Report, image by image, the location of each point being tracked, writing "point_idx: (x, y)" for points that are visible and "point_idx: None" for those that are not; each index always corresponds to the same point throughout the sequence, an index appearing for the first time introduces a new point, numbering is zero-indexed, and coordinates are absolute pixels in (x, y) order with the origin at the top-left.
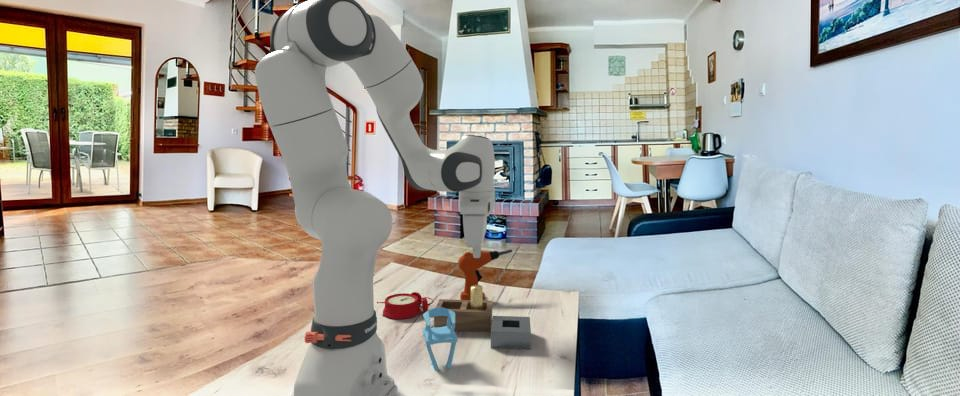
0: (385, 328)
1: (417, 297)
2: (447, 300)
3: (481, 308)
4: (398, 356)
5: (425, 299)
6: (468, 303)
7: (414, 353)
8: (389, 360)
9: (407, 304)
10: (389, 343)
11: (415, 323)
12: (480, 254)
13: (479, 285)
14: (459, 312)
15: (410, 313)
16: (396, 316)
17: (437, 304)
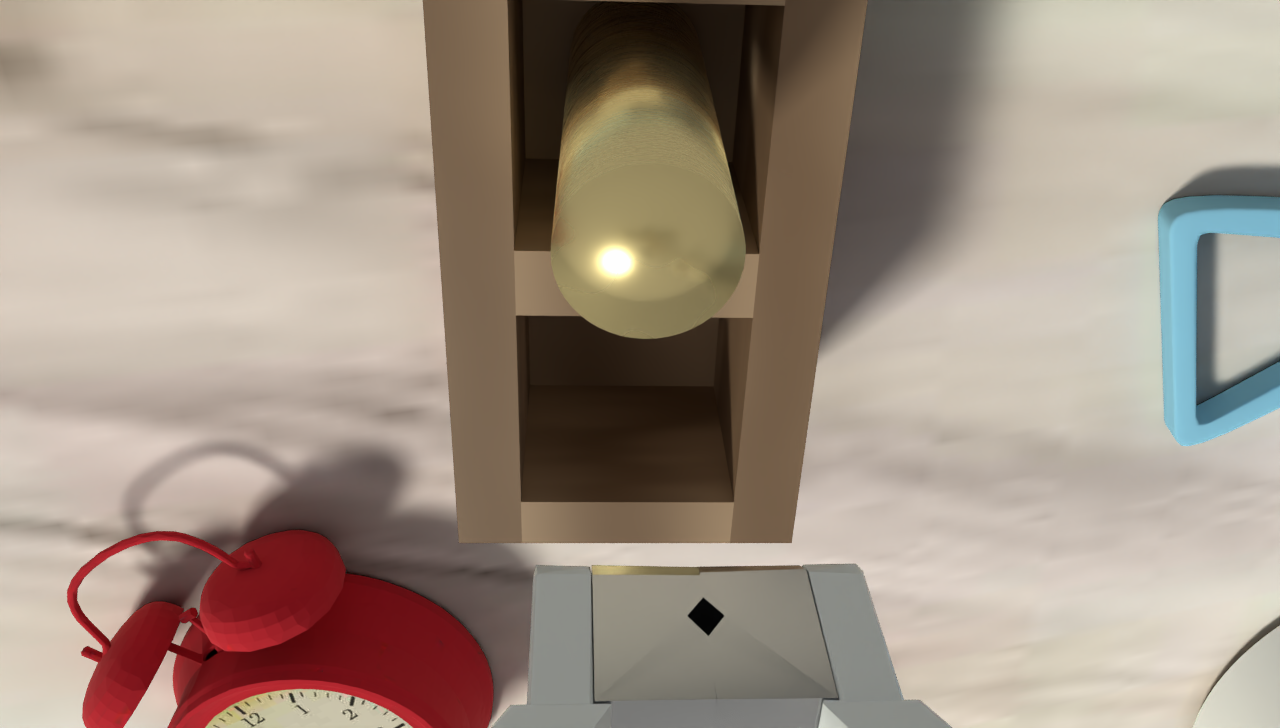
0: None
1: (241, 688)
2: (487, 467)
3: (682, 65)
4: (1115, 556)
5: (273, 623)
6: (514, 237)
7: (1089, 476)
8: (1160, 590)
9: (431, 721)
10: (909, 641)
11: (553, 561)
12: (765, 598)
13: (582, 215)
14: (819, 309)
15: (435, 640)
16: (486, 706)
17: (616, 538)
